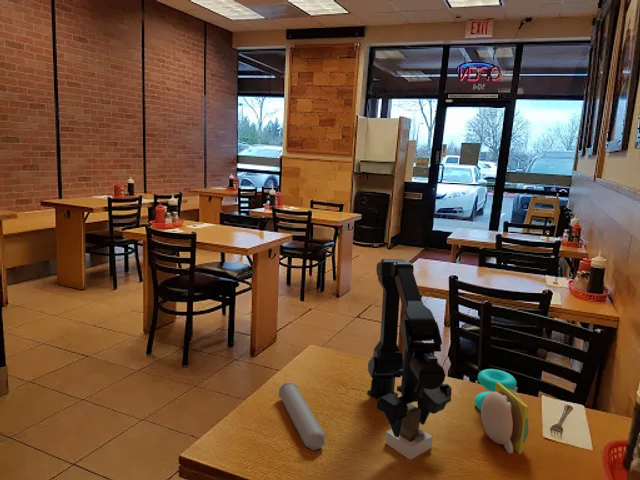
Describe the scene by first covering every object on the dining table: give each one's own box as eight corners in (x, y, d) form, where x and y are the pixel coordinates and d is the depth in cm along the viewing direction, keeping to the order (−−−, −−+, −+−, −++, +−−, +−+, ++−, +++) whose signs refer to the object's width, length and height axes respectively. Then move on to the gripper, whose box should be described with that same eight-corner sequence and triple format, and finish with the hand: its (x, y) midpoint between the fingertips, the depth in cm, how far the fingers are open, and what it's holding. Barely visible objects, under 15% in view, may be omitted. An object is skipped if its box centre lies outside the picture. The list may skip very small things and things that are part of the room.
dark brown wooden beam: (407, 438, 115) (410, 404, 113) (417, 444, 112) (420, 409, 111) (399, 442, 113) (402, 407, 111) (409, 449, 111) (412, 413, 109)
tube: (332, 435, 109) (299, 383, 132) (311, 431, 107) (282, 380, 130) (323, 456, 109) (293, 401, 132) (303, 453, 107) (275, 398, 130)
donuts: (517, 371, 133) (517, 387, 124) (512, 404, 134) (512, 422, 125) (479, 364, 136) (477, 378, 127) (475, 396, 138) (473, 413, 129)
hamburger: (472, 426, 122) (477, 383, 120) (501, 424, 124) (507, 381, 122) (498, 455, 111) (504, 408, 109) (530, 453, 112) (537, 406, 110)
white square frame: (406, 432, 118) (407, 417, 117) (431, 447, 112) (432, 432, 112) (385, 443, 113) (386, 427, 112) (410, 459, 107) (411, 443, 107)
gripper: (416, 393, 97) (410, 462, 100) (469, 371, 109) (462, 433, 112) (377, 373, 106) (372, 437, 108) (429, 354, 118) (424, 412, 120)
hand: (409, 430), depth 112 cm, fingers open, 9 cm apart
